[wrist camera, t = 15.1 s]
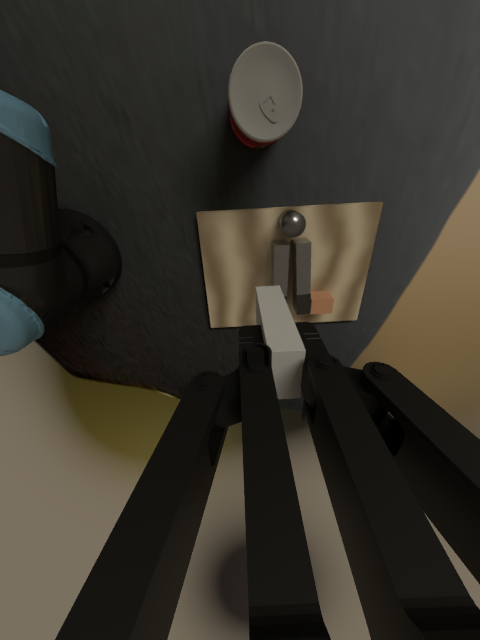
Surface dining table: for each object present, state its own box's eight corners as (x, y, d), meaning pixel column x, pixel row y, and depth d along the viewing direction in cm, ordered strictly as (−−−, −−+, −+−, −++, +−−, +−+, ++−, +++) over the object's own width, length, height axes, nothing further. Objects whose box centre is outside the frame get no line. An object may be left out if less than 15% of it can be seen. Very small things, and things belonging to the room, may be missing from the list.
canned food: (260, 161, 38) (269, 158, 28) (217, 119, 35) (211, 100, 26) (296, 111, 35) (319, 89, 26) (253, 60, 32) (261, 15, 23)
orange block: (305, 305, 49) (310, 314, 46) (306, 291, 48) (311, 299, 45) (325, 304, 49) (331, 313, 46) (327, 290, 48) (334, 298, 45)
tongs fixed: (271, 209, 40) (275, 213, 37) (300, 208, 40) (307, 211, 37) (270, 307, 49) (273, 317, 46) (293, 306, 49) (298, 316, 46)
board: (211, 324, 53) (211, 327, 52) (197, 211, 41) (196, 212, 40) (354, 317, 52) (356, 320, 51) (379, 201, 41) (383, 202, 40)
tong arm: (291, 239, 43) (296, 244, 40) (306, 237, 43) (311, 242, 39) (292, 306, 49) (296, 315, 46) (305, 304, 49) (310, 313, 46)
